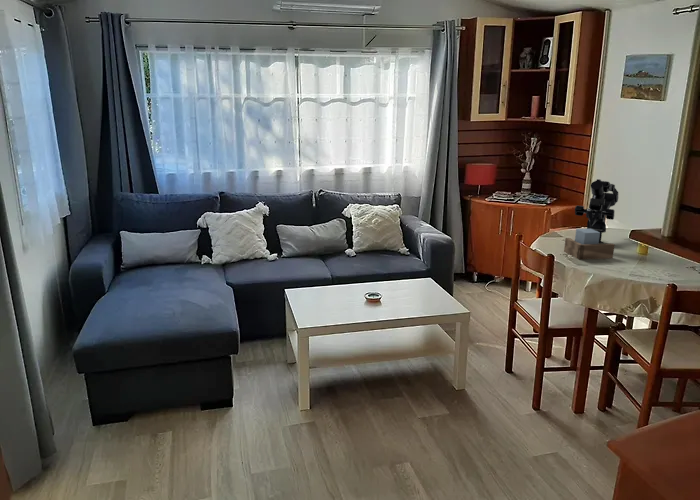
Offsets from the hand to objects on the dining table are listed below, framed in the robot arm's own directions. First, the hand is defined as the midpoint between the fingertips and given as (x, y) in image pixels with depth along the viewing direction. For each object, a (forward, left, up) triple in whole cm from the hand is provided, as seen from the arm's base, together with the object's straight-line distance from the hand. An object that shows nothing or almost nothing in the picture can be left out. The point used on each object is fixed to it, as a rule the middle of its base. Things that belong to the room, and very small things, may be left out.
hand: (591, 225), depth 287 cm
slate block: (+7, -6, -13) cm, 16 cm away
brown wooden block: (+9, -5, -13) cm, 16 cm away
